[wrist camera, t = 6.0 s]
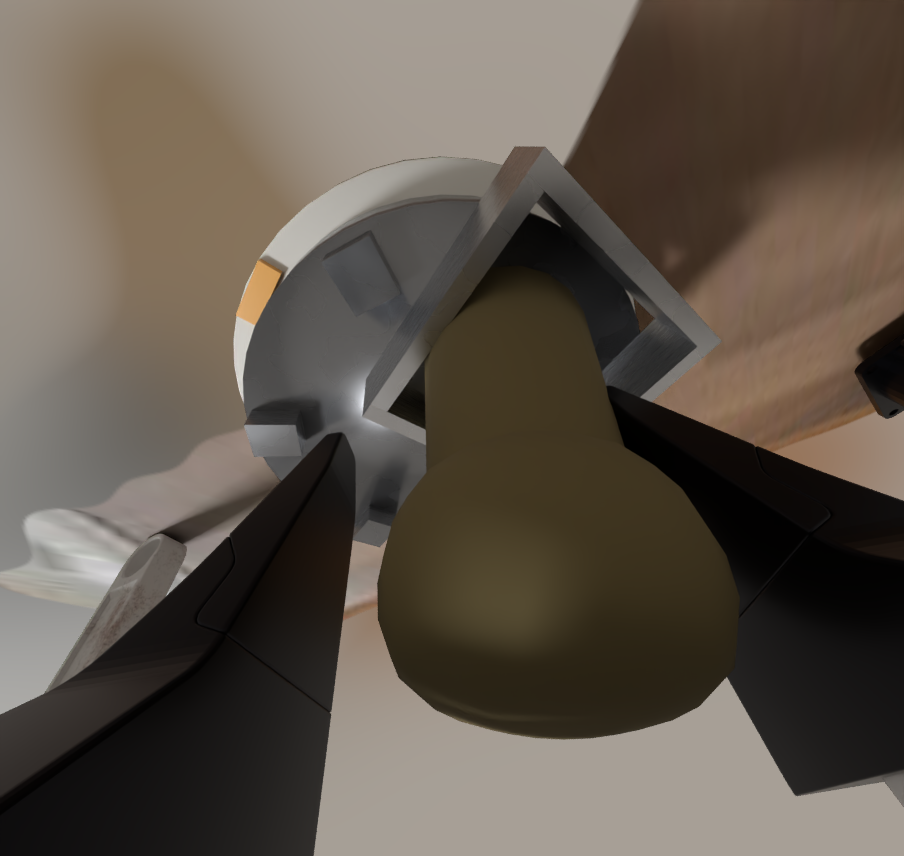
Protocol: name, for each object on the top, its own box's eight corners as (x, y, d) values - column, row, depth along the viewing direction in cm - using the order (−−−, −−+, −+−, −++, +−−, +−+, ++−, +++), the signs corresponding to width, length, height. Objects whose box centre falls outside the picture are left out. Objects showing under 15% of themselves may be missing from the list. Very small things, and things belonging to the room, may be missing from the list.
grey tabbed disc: (475, 538, 25) (489, 601, 22) (207, 450, 17) (162, 527, 14) (693, 344, 17) (769, 394, 14) (386, 33, 10) (384, -30, 6)
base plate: (695, 337, 19) (712, 348, 18) (471, 534, 27) (474, 549, 26) (374, -14, 10) (372, -32, 9) (188, 436, 18) (176, 453, 17)
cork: (403, 386, 14) (283, 733, 6) (463, 231, 11) (404, 479, 2) (533, 437, 16) (610, 794, 7) (624, 310, 12) (1027, 688, 3)
